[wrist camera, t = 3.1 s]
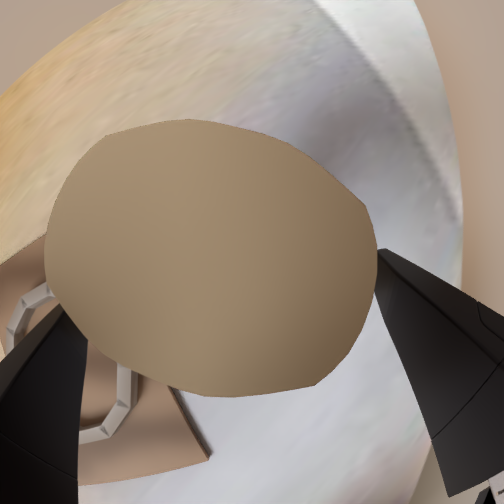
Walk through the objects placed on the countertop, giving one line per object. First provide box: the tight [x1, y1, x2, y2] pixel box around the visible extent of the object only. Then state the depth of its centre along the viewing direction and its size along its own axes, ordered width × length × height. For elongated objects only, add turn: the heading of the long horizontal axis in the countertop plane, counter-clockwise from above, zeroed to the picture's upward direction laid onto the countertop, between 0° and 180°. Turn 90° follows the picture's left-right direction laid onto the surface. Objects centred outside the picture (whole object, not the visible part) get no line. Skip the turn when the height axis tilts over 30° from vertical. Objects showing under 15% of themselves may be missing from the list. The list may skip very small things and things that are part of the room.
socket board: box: [0, 235, 209, 486], centre depth 18 cm, size 20×14×2 cm
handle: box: [44, 119, 377, 397], centre depth 13 cm, size 5×6×15 cm
